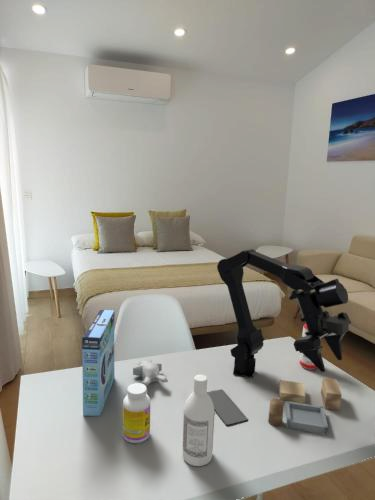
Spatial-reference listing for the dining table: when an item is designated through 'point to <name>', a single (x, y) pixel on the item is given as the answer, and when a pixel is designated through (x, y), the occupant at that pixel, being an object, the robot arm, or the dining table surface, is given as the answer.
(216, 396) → the smartphone
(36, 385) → the dining table surface
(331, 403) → the block
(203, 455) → the bath foam
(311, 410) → the tray
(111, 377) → the light blue cardboard box
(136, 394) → the supplement bottle
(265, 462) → the dining table surface
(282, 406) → the dowel
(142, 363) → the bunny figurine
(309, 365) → the beer can
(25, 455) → the dining table surface
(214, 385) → the dining table surface
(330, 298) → the robot arm
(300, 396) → the tan beveled block
